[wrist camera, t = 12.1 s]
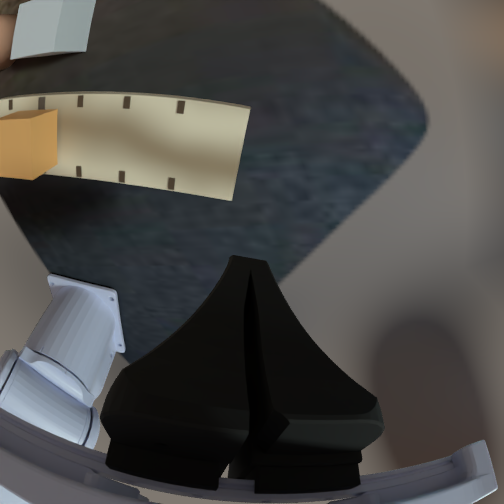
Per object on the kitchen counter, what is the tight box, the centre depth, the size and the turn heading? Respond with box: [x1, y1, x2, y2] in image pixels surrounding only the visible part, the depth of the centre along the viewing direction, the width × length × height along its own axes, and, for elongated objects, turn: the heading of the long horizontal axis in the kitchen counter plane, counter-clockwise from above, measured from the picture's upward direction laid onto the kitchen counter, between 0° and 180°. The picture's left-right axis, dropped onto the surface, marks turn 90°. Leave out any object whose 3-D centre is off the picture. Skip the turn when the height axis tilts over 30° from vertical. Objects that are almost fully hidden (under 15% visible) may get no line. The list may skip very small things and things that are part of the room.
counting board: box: [0, 91, 251, 201], centre depth 17 cm, size 6×20×2 cm, turn 79°
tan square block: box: [0, 109, 58, 180], centre depth 15 cm, size 4×4×3 cm
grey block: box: [10, 0, 96, 60], centre depth 12 cm, size 4×4×4 cm
